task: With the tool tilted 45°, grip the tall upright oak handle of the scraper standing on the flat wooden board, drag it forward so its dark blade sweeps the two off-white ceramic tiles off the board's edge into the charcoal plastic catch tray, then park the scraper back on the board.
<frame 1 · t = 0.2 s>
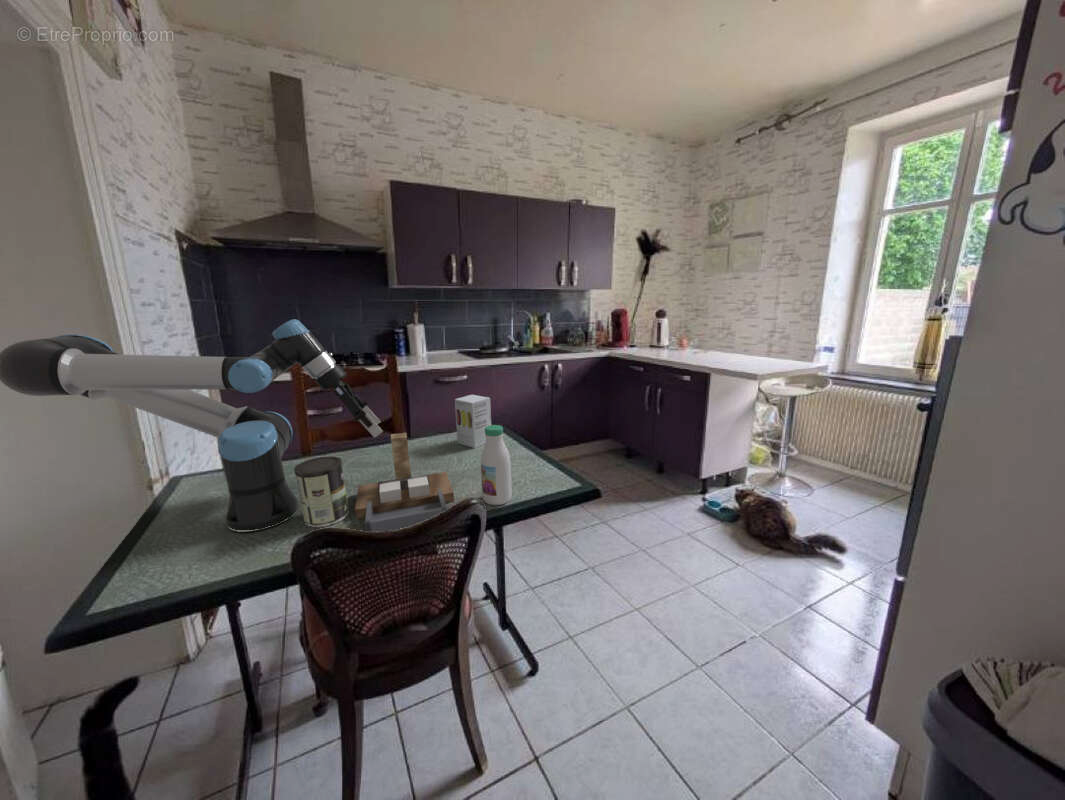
hand: (378, 429, 120), 15 cm above the table, tool tilted 35°, fingers open, 13 cm apart
scraper: (404, 483, 114), point 2 cm above the table, touching flat wooden board
flat wooden board: (405, 497, 111), on the table
tile right: (419, 492, 108), point 2 cm above the table, touching flat wooden board
supplement box: (475, 442, 151), on the table
tray: (407, 520, 100), on the table
coffee can: (327, 517, 102), on the table
tile left: (391, 497, 106), point 2 cm above the table, touching flat wooden board
milk bottle: (497, 499, 109), on the table
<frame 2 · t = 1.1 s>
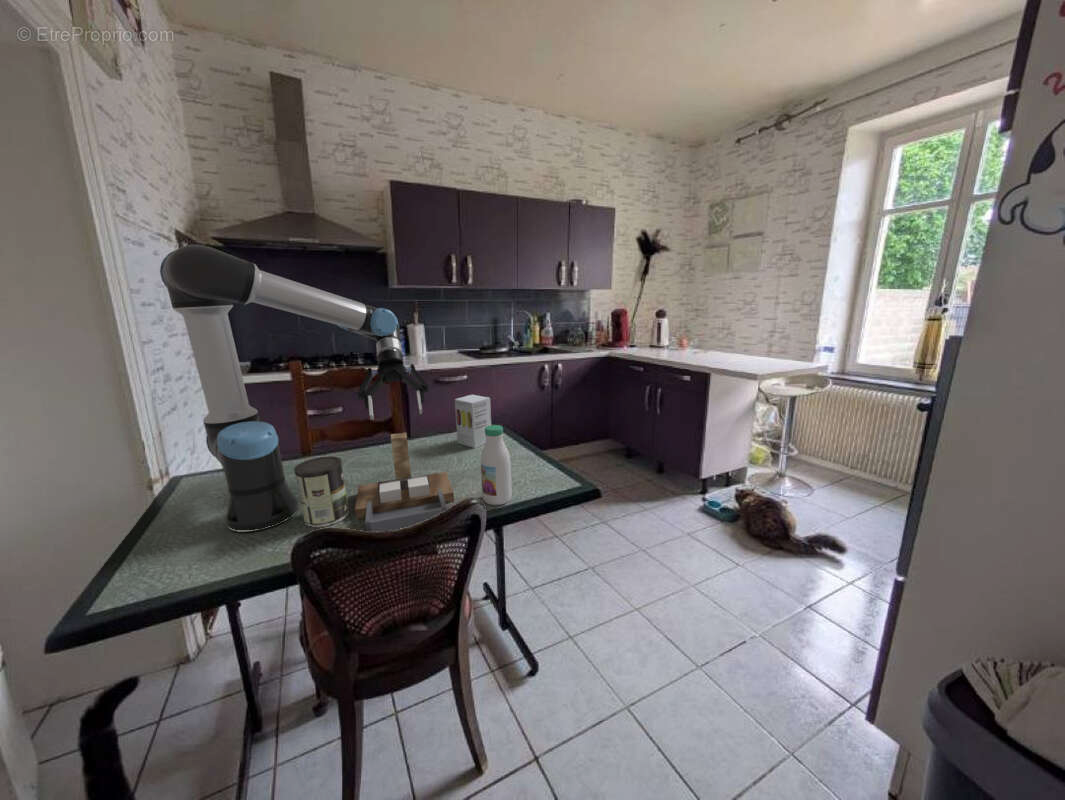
hand: (396, 414, 119), 20 cm above the table, tool tilted 45°, fingers open, 13 cm apart
nothing on the table moved.
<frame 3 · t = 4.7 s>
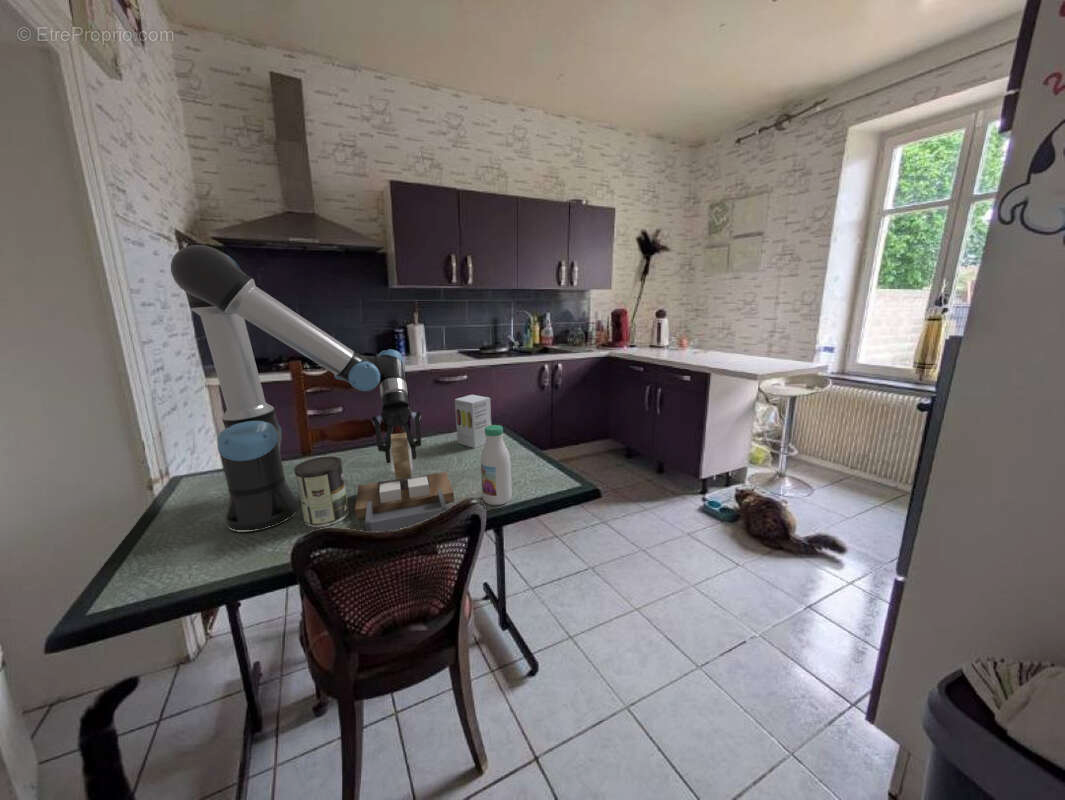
hand: (402, 471, 109), 8 cm above the table, tool tilted 45°, fingers closed on scraper, 4 cm apart
scraper: (404, 483, 114), point 2 cm above the table, touching flat wooden board, gripper
everything else where it was.
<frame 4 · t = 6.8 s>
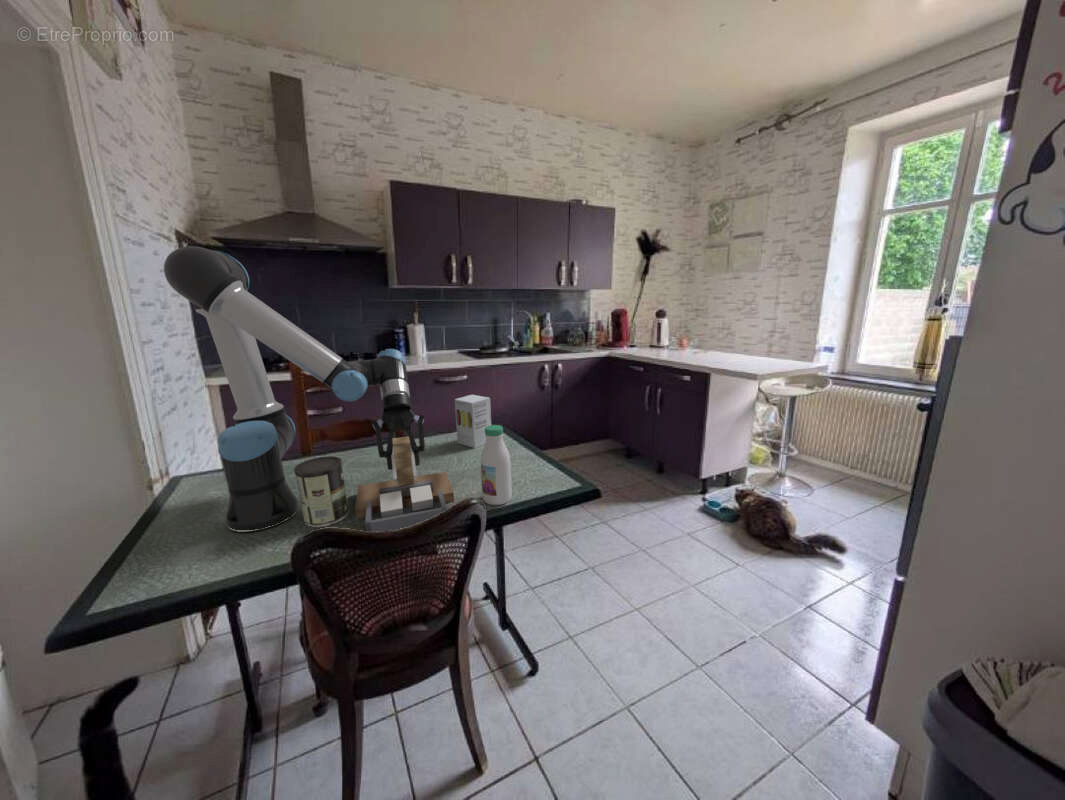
hand: (405, 478, 102), 9 cm above the table, tool tilted 45°, fingers closed on scraper, 4 cm apart
scraper: (406, 489, 108), point 4 cm above the table, touching gripper
tile right: (422, 501, 104), point 2 cm above the table, tilted 20°, touching flat wooden board
tile left: (392, 507, 102), point 2 cm above the table, tilted 30°, touching tray
everything else where it was.
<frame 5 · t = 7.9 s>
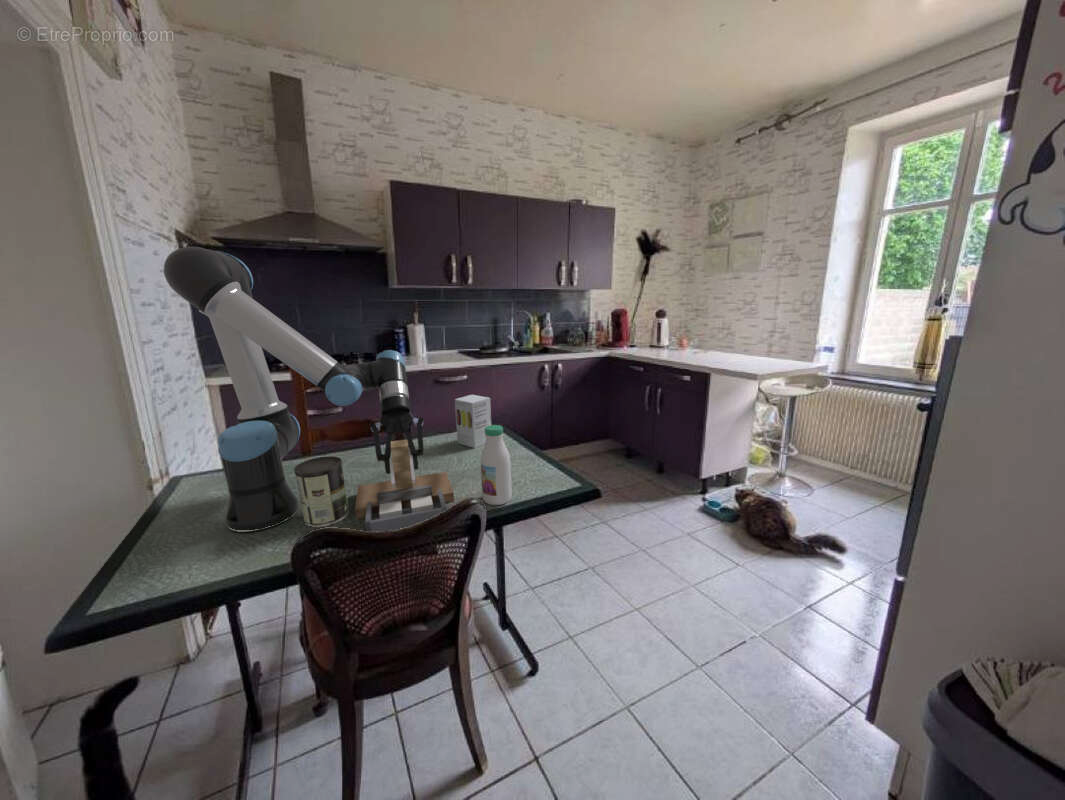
hand: (403, 483, 100), 9 cm above the table, tool tilted 45°, fingers closed on scraper, 4 cm apart
scraper: (405, 493, 105), point 4 cm above the table, touching gripper, tile left, tile right
tile right: (422, 512, 102), point 1 cm above the table, touching scraper, tray
tile left: (391, 518, 100), point 1 cm above the table, touching scraper, tray
everything else where it was.
when the fingers open (8 cm above the table, at t = 9.4 s): scraper stays where it is, resting on flat wooden board.
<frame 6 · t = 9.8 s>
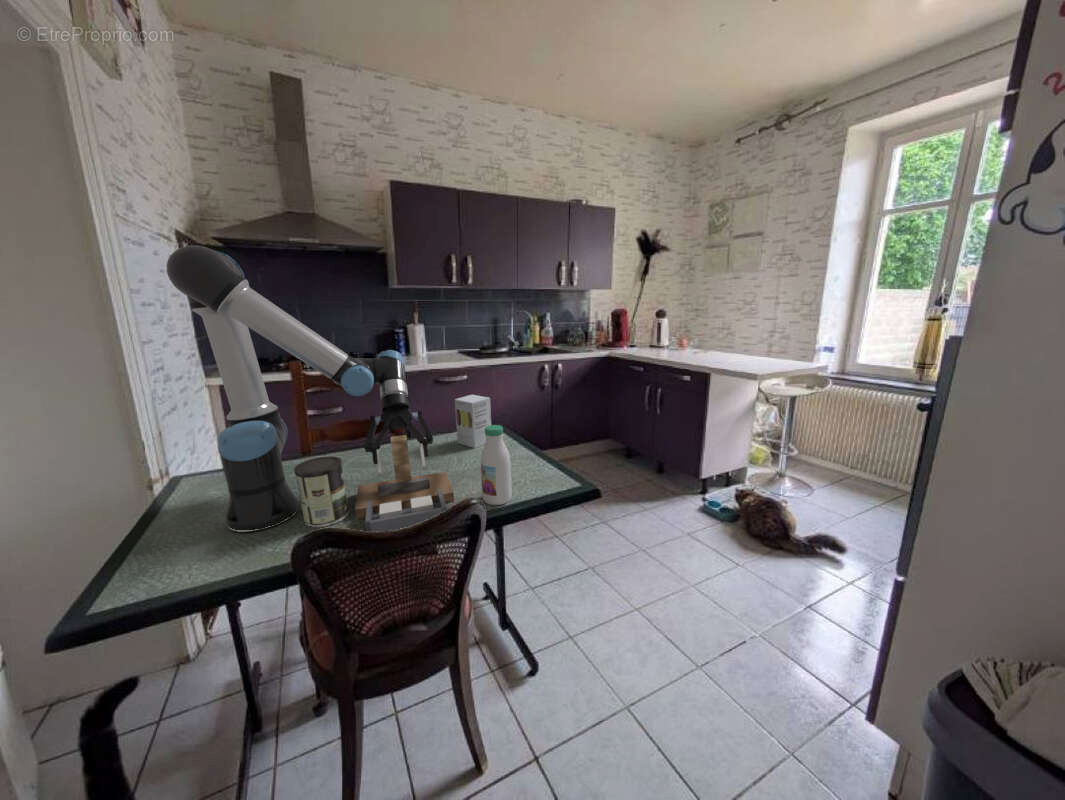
hand: (402, 471, 107), 9 cm above the table, tool tilted 45°, fingers open, 10 cm apart
scraper: (404, 486, 112), point 3 cm above the table, touching flat wooden board
tile right: (422, 512, 102), point 1 cm above the table, touching tray
tile left: (391, 518, 100), point 1 cm above the table, touching tray
everything else where it was.
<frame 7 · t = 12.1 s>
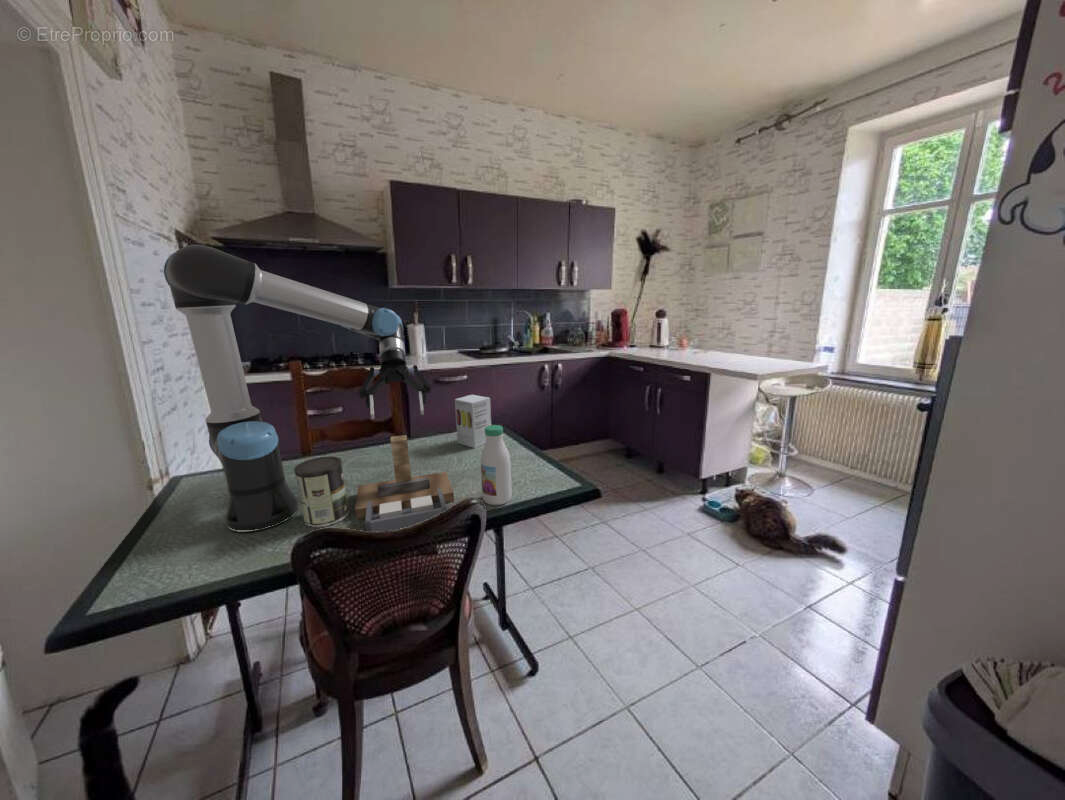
hand: (397, 414, 117), 20 cm above the table, tool tilted 45°, fingers open, 13 cm apart
nothing on the table moved.
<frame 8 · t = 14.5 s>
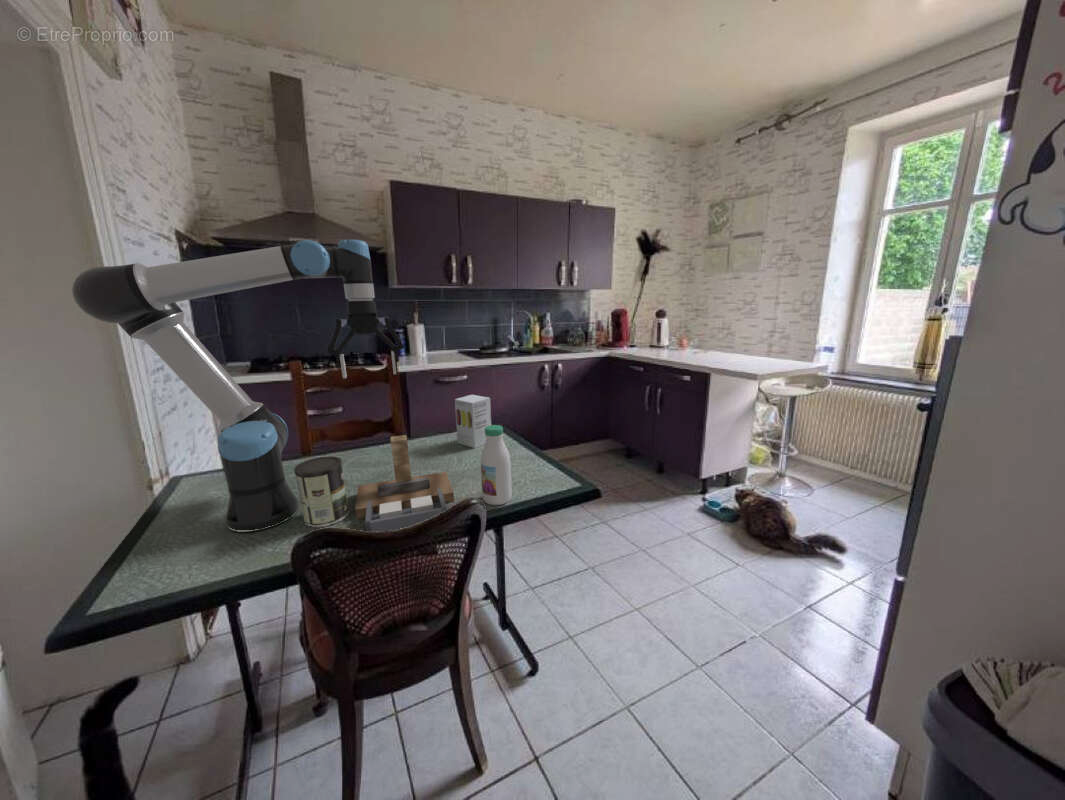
hand: (370, 375, 119), 31 cm above the table, tool pointing down, fingers open, 13 cm apart
nothing on the table moved.
at the end: tile left inside the target area on the tray (3.8 cm from its centre), point 0.6 cm above the tray's base; tile right inside the target area on the tray (3.8 cm from its centre), point 0.6 cm above the tray's base; the gripper is holding nothing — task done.
